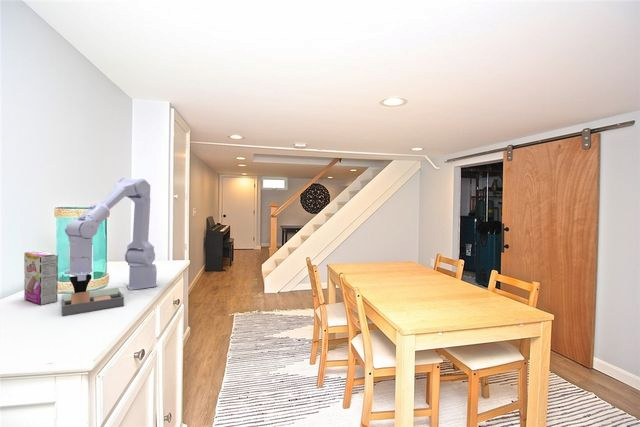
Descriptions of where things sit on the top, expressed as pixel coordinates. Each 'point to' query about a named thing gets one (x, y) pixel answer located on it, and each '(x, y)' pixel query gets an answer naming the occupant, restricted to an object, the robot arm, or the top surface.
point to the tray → (92, 305)
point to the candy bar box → (40, 277)
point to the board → (95, 294)
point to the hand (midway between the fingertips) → (80, 297)
